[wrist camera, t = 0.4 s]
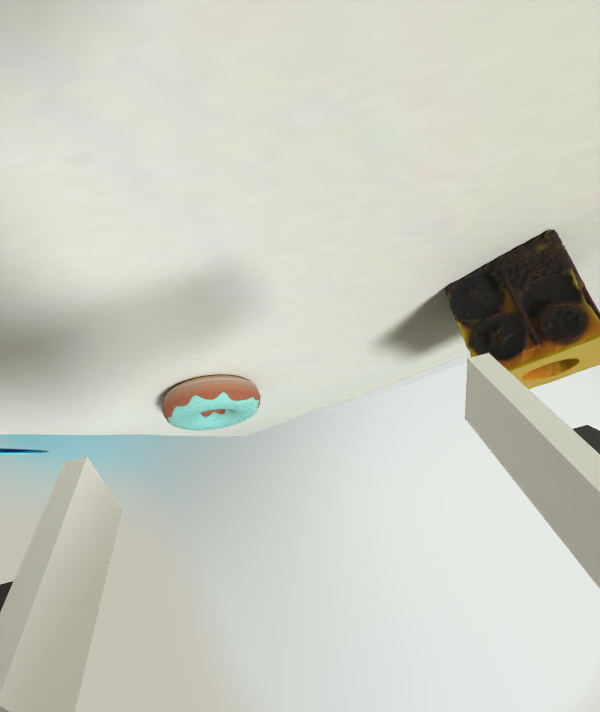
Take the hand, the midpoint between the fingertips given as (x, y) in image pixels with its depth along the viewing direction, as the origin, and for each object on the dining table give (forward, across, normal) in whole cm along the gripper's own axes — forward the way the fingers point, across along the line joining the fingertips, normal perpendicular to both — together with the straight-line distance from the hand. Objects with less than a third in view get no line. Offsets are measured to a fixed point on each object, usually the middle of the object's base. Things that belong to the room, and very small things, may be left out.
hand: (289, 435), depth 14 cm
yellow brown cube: (+24, +24, -9) cm, 35 cm away
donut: (+33, -9, -20) cm, 40 cm away
